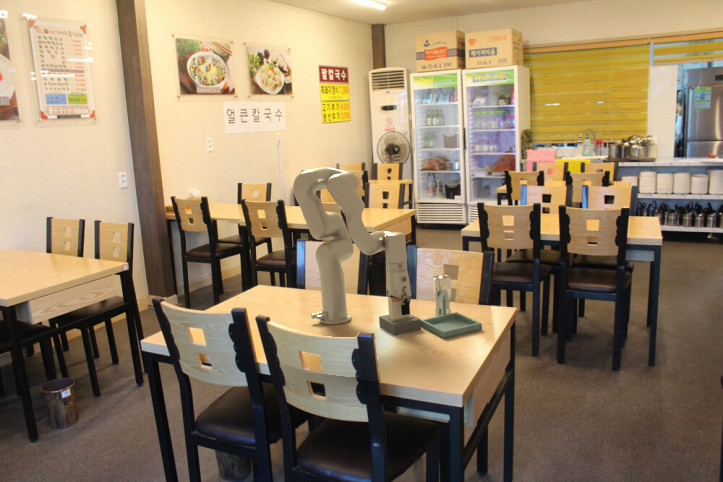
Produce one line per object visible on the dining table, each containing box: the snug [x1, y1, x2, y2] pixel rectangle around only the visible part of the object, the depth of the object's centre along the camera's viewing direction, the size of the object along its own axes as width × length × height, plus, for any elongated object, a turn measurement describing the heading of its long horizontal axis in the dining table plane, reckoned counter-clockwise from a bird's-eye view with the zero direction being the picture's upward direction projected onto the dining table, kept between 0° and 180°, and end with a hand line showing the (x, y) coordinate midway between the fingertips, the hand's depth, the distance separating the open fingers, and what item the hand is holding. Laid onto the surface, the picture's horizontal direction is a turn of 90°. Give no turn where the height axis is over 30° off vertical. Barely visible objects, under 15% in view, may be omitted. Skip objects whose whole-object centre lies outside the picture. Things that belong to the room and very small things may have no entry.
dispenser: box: [378, 313, 422, 337], centre depth 225 cm, size 11×12×4 cm
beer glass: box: [432, 274, 452, 317], centre depth 237 cm, size 7×7×15 cm
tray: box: [421, 312, 483, 340], centre depth 221 cm, size 16×16×2 cm
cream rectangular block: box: [387, 295, 411, 320], centre depth 224 cm, size 7×3×10 cm, turn 115°
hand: (399, 311), depth 224 cm, fingers open, 9 cm apart
